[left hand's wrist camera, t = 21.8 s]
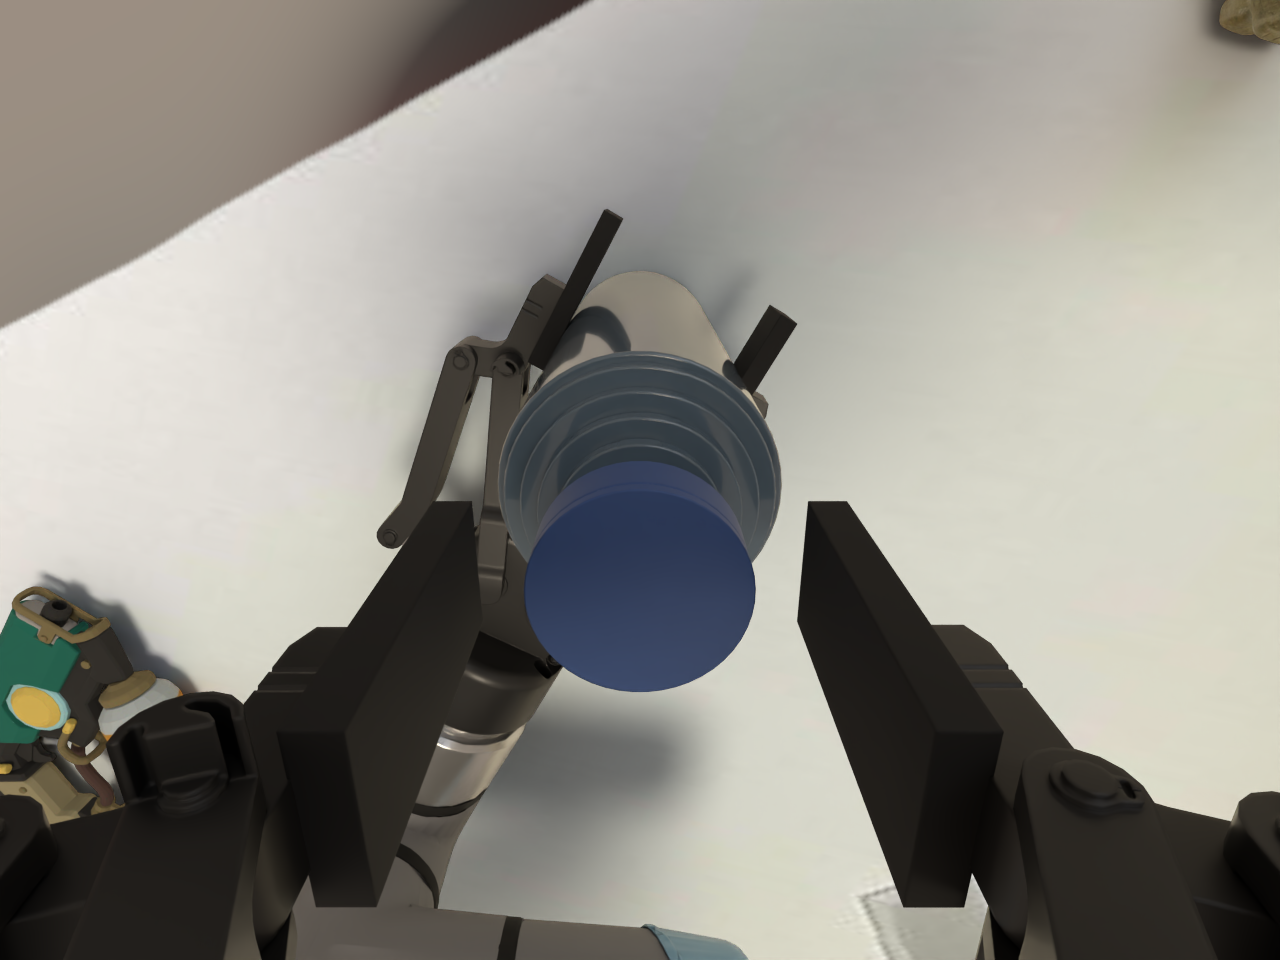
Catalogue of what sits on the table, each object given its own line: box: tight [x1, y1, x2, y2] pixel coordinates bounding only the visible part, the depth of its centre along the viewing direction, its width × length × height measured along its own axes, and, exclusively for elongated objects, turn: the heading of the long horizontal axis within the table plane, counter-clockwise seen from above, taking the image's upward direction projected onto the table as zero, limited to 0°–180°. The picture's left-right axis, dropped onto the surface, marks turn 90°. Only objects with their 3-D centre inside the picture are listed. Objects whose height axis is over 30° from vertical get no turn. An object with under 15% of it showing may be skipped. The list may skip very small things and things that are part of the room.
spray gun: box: [0, 587, 183, 824], centre depth 43 cm, size 4×17×15 cm
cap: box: [524, 461, 756, 692], centre depth 14 cm, size 4×4×2 cm
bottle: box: [498, 271, 782, 563], centre depth 25 cm, size 7×7×24 cm
